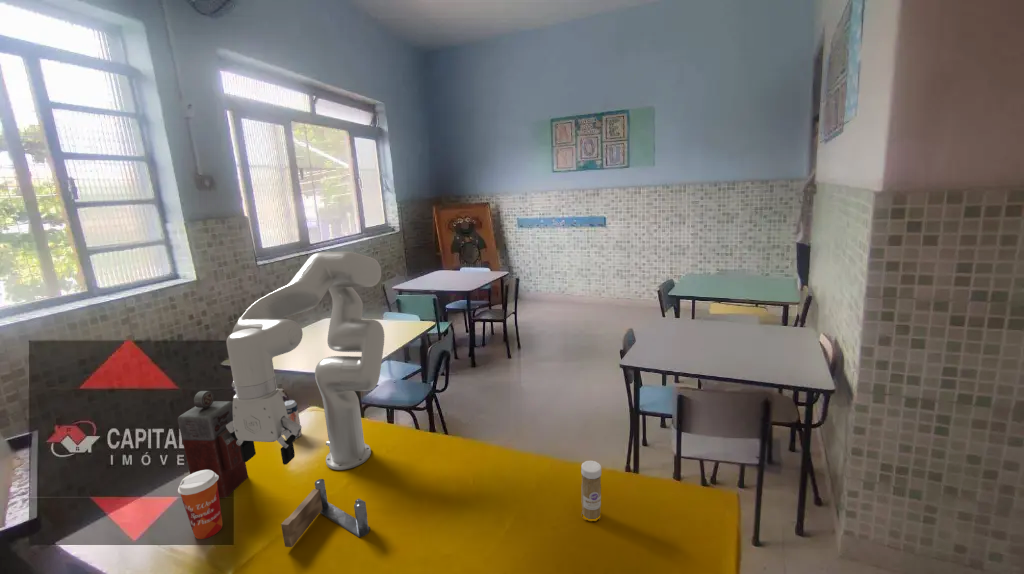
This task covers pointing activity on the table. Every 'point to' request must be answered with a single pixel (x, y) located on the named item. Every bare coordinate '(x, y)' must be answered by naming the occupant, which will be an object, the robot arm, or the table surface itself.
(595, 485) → the sprinkles bottle
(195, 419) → the vintage gas pump
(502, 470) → the table surface
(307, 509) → the gate
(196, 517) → the paper cup
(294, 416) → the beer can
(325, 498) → the gate posts
